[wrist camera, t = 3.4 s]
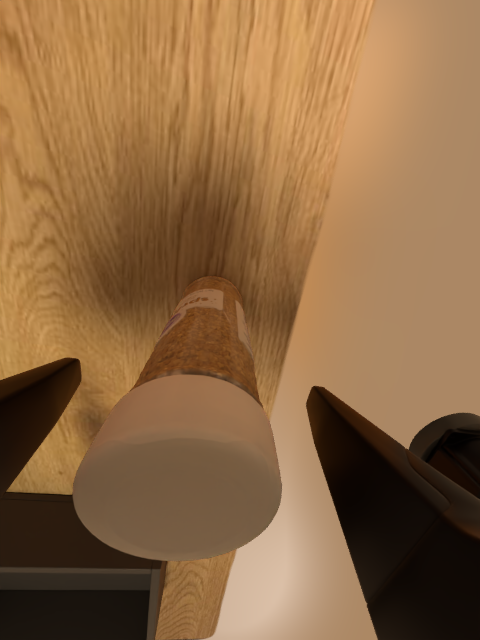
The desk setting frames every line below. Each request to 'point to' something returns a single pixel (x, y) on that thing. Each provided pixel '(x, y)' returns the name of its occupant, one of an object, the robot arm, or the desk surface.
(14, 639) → the dark grey tray
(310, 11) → the desk surface
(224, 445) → the sprinkles bottle
